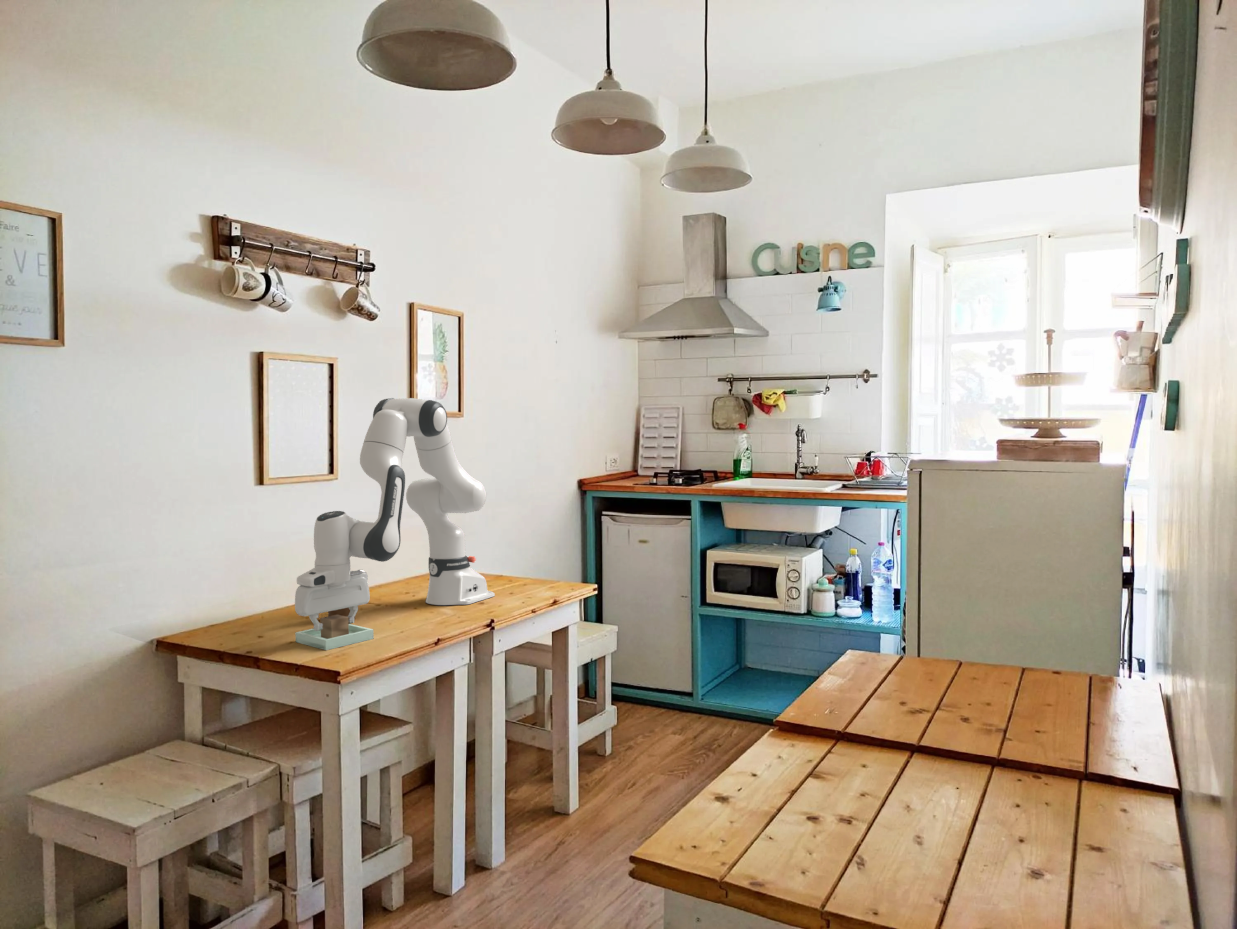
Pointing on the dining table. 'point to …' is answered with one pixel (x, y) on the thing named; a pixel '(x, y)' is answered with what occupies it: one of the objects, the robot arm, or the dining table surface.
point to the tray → (317, 641)
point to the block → (334, 626)
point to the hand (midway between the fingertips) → (334, 626)
